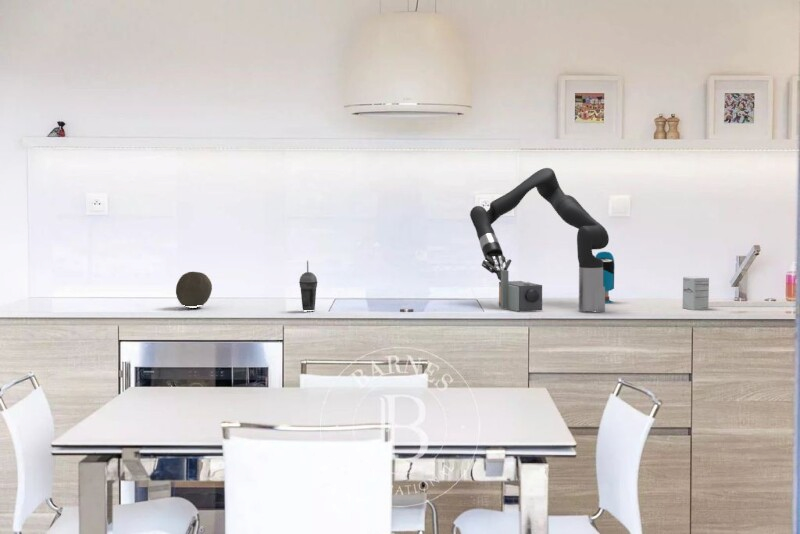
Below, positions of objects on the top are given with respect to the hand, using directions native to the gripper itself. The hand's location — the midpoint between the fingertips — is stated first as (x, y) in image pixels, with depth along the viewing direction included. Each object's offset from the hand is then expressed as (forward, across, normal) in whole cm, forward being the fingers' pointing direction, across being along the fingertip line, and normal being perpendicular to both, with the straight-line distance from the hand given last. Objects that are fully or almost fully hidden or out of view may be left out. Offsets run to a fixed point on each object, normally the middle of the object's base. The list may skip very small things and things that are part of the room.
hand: (502, 279), depth 410 cm
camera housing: (+9, -8, -8) cm, 14 cm away
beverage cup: (-5, +74, -22) cm, 78 cm away
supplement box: (+27, -71, +10) cm, 77 cm away
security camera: (+3, -49, -14) cm, 51 cm away
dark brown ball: (-24, +116, -42) cm, 125 cm away
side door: (+12, -1, -4) cm, 13 cm away
